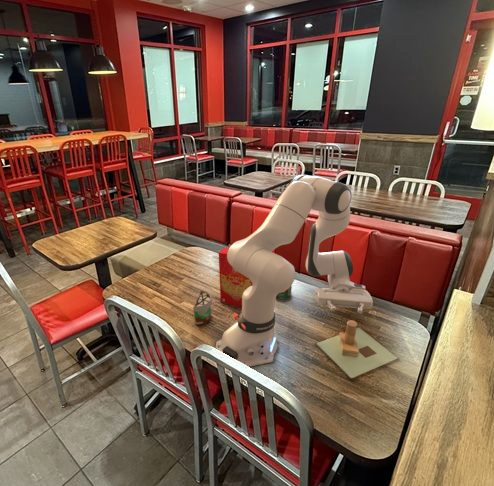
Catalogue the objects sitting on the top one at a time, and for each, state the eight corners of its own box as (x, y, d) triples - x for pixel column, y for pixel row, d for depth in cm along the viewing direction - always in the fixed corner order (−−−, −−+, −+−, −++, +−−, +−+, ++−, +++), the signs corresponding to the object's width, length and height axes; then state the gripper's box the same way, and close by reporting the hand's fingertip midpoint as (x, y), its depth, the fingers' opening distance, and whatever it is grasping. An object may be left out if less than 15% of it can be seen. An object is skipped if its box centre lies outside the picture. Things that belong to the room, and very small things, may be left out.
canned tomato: (289, 291, 144) (291, 270, 139) (292, 301, 137) (293, 280, 132) (272, 291, 144) (273, 270, 140) (273, 301, 137) (274, 279, 133)
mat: (351, 380, 98) (351, 378, 98) (315, 344, 112) (316, 343, 112) (397, 360, 104) (398, 358, 104) (358, 329, 119) (358, 327, 118)
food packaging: (220, 302, 138) (218, 252, 128) (225, 296, 142) (223, 247, 132) (252, 309, 133) (253, 258, 122) (256, 302, 137) (256, 252, 126)
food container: (209, 329, 123) (208, 308, 118) (194, 327, 124) (193, 307, 120) (215, 310, 134) (214, 290, 129) (202, 308, 135) (200, 289, 130)
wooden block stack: (338, 337, 114) (342, 314, 110) (353, 338, 113) (357, 315, 109) (342, 355, 106) (346, 331, 102) (357, 357, 105) (362, 333, 101)
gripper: (315, 281, 129) (318, 301, 117) (369, 286, 124) (377, 306, 112) (314, 294, 131) (316, 315, 119) (366, 299, 127) (374, 320, 115)
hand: (346, 311), depth 116 cm, fingers open, 8 cm apart
